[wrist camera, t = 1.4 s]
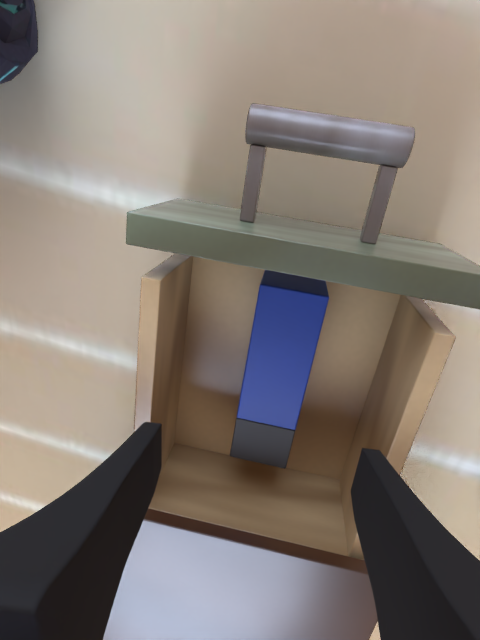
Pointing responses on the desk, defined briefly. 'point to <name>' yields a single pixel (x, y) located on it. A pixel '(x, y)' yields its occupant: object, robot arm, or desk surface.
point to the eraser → (278, 366)
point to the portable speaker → (16, 36)
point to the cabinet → (236, 587)
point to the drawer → (332, 349)
